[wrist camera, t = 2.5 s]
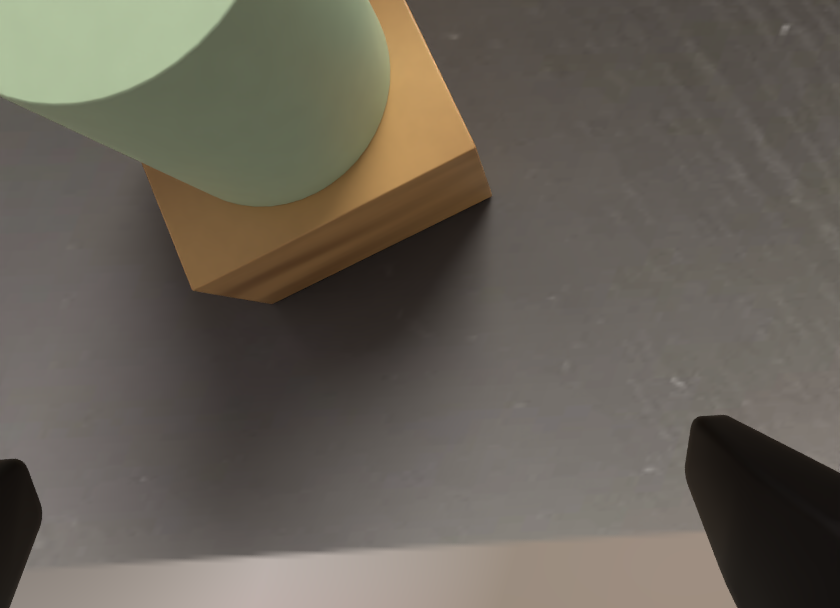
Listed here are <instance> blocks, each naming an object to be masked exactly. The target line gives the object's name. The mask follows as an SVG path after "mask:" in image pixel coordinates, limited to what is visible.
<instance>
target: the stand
mask: <svg viewBox="0 0 840 608" xmlns="http://www.w3.org/2000/svg"><path fill="white" fill-rule="evenodd" d="M369 2H370V4H371V6H372V8H373V10H374V12H375V14H376V16H377V18H378V20H379V22H380V25H381V27H382V30H383V32H384V35H385V38H386V43H387V47H388V51H389V60H390V86H389V92H388V99H387V103H386V107H385V110H384V113H383V117H382V119H381V122H380V124H379V126H378V128H377V131H376V133H375V135H374V136H373V138H372V140H371V142H370V143H369V145H368V147H367V148H366V149H365V151H364V152H363V153H362V155H361V156H360V157H359V159H358V160H357V161H356V162H355V163H354V164H353V165H352V166H351V167H350V168H349V169H348V170H347V171H346V172H345V173H344V174H343V175H342V176H341V177H339V178H338V179H337V180H336V181H334V182H333V183H332V184H330V185H329V186H327V187H325V188H324V189H322V190H321V191H319V192H317V193H315V194H313V195H311V196H308V197H306V198H304V199H301V200H298V201H295V202H291V203H288V204H283V205H276V206H265V207H253V206H245V205H238V204H235V203H231V202H227V201H224V200H222V199H219V198H217V197H215V196H212V195H210V194H208V193H206V192H204V191H202V190H200V189H197V188H195V187H193V186H191V185H189V184H187V183H184V182H182V181H180V180H178V179H176V178H174V177H172V176H169V175H167V174H165V173H163V172H161V171H159V170H157V169H154V168H152V167H150V166H148V165H146V164H144V163H142V165H143V168H144V170H145V173H146V175H147V178H148V180H149V183H150V185H151V188H152V190H153V193H154V195H155V198H156V200H157V203H158V205H159V208H160V210H161V213H162V215H163V218H164V220H165V223H166V225H167V228H168V230H169V233H170V236H171V238H172V241H173V243H174V246H175V248H176V251H177V253H178V256H179V258H180V261H181V263H182V266H183V268H184V271H185V273H186V276H187V278H188V281H189V283H190V286H191V288H192V290H193V291H197V292H203V293H209V294H215V295H221V296H226V297H232V298H238V299H244V300H250V301H256V302H262V303H268V304H273V303H275V302H277V301H280V300H282V299H284V298H286V297H288V296H290V295H292V294H294V293H296V292H298V291H300V290H302V289H304V288H306V287H308V286H310V285H312V284H314V283H316V282H318V281H320V280H322V279H324V278H326V277H328V276H330V275H332V274H334V273H337V272H339V271H341V270H343V269H345V268H347V267H349V266H351V265H353V264H355V263H357V262H359V261H361V260H363V259H365V258H367V257H369V256H371V255H373V254H375V253H377V252H379V251H381V250H383V249H385V248H387V247H389V246H391V245H394V244H396V243H398V242H400V241H402V240H404V239H406V238H408V237H410V236H412V235H414V234H416V233H418V232H420V231H422V230H424V229H426V228H428V227H430V226H432V225H434V224H436V223H438V222H440V221H442V220H444V219H446V218H448V217H451V216H453V215H455V214H457V213H459V212H461V211H463V210H465V209H467V208H469V207H471V206H473V205H475V204H477V203H479V202H481V201H483V200H485V199H487V198H489V197H491V196H492V193H491V190H490V187H489V184H488V181H487V178H486V175H485V173H484V170H483V167H482V164H481V161H480V158H479V155H478V152H477V149H476V146H475V144H474V142H473V140H472V138H471V136H470V134H469V132H468V130H467V127H466V125H465V123H464V121H463V119H462V117H461V115H460V113H459V111H458V109H457V107H456V105H455V102H454V100H453V98H452V96H451V94H450V92H449V90H448V88H447V86H446V84H445V82H444V80H443V78H442V75H441V73H440V71H439V69H438V67H437V65H436V63H435V61H434V59H433V57H432V55H431V53H430V50H429V48H428V46H427V44H426V42H425V40H424V38H423V36H422V34H421V32H420V30H419V28H418V26H417V23H416V21H415V19H414V17H413V15H412V13H411V11H410V9H409V7H408V5H407V3H406V1H405V0H369Z"/></svg>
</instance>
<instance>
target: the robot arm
mask: <svg viewBox="0 0 840 608" xmlns="http://www.w3.org/2000/svg"><path fill="white" fill-rule="evenodd" d="M685 475H686V480H687V484H688V487H689V489H690V492H691V494H692V497H693V500H694V502H695V505H696V508H697V510H698V513H699V515H700V518H701V521H702V523H703V526H704V529H705V531H706V534H707V536H708V539H709V542H710V544H711V547H712V550H713V552H714V555H715V557H716V560H717V562H718V565H719V568H720V570H721V573H722V575H723V578H724V580H725V582H726V585H727V587H728V589H729V591H730V593H731V595H732V597H733V600H734V602H735V604H736V605H737V607H738V608H840V473H839V472H837V471H835V470H833V469H831V468H829V467H827V466H825V465H823V464H821V463H819V462H817V461H815V460H813V459H812V458H810V457H808V456H806V455H804V454H802V453H800V452H798V451H796V450H794V449H792V448H790V447H788V446H786V445H784V444H782V443H780V442H778V441H776V440H774V439H772V438H770V437H768V436H766V435H764V434H762V433H760V432H759V431H757V430H755V429H753V428H751V427H749V426H747V425H745V424H743V423H741V422H739V421H737V420H735V419H733V418H731V417H729V416H726V415H714V416H699V417H697V418H696V419H694V421H693V423H692V425H691V430H690V436H689V443H688V449H687V456H686V462H685ZM41 520H42V507H41V503H40V501H39V498H38V495H37V493H36V490H35V487H34V485H33V482H32V479H31V476H30V474H29V471H28V469H27V467H26V465H25V464H24V463H23V462H22V461H21V460H18V459H4V460H0V608H9V607H10V605H11V602H12V599H13V597H14V594H15V591H16V589H17V586H18V583H19V581H20V578H21V576H22V573H23V570H24V568H25V565H26V562H27V560H28V557H29V554H30V552H31V549H32V546H33V544H34V541H35V539H36V536H37V533H38V531H39V528H40V525H41Z"/></svg>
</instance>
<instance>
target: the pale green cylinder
mask: <svg viewBox="0 0 840 608" xmlns="http://www.w3.org/2000/svg"><path fill="white" fill-rule="evenodd" d="M389 86H390V60H389V51H388V47H387V43H386V38H385V35H384V32H383V30H382V27H381V25H380V22H379V20H378V18H377V16H376V14H375V12H374V10H373V8H372V6H371V4H370V2H369V0H0V97H2V98H4V99H6V100H8V101H11V102H13V103H15V104H17V105H19V106H21V107H24V108H26V109H28V110H30V111H32V112H34V113H36V114H39V115H41V116H43V117H45V118H47V119H49V120H51V121H54V122H56V123H58V124H60V125H62V126H64V127H66V128H69V129H71V130H73V131H75V132H77V133H79V134H81V135H84V136H86V137H88V138H90V139H92V140H94V141H96V142H99V143H101V144H103V145H105V146H107V147H109V148H112V149H114V150H116V151H118V152H120V153H122V154H124V155H127V156H129V157H131V158H133V159H135V160H137V161H139V162H142V163H144V164H146V165H148V166H150V167H152V168H154V169H157V170H159V171H161V172H163V173H165V174H167V175H169V176H172V177H174V178H176V179H178V180H180V181H182V182H184V183H187V184H189V185H191V186H193V187H195V188H197V189H200V190H202V191H204V192H206V193H208V194H210V195H212V196H215V197H217V198H219V199H222V200H224V201H227V202H231V203H235V204H238V205H245V206H253V207H265V206H276V205H283V204H288V203H291V202H295V201H298V200H301V199H304V198H306V197H308V196H311V195H313V194H315V193H317V192H319V191H321V190H322V189H324V188H325V187H327V186H329V185H330V184H332V183H333V182H334V181H336V180H337V179H338V178H339V177H341V176H342V175H343V174H344V173H345V172H346V171H347V170H348V169H349V168H350V167H351V166H352V165H353V164H354V163H355V162H356V161H357V160H358V159H359V157H360V156H361V155H362V153H363V152H364V151H365V149H366V148H367V147H368V145H369V143H370V142H371V140H372V138H373V136H374V135H375V133H376V131H377V128H378V126H379V124H380V122H381V119H382V117H383V113H384V110H385V107H386V103H387V99H388V92H389Z"/></svg>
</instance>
